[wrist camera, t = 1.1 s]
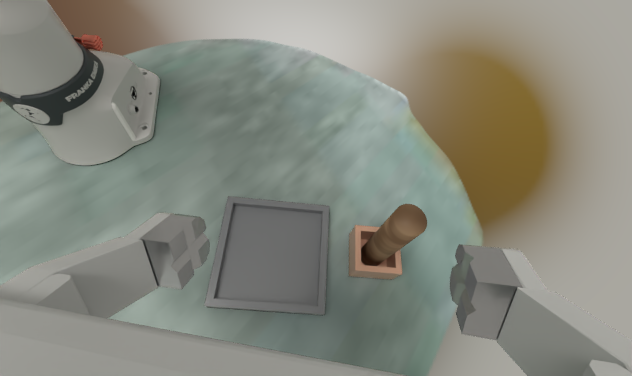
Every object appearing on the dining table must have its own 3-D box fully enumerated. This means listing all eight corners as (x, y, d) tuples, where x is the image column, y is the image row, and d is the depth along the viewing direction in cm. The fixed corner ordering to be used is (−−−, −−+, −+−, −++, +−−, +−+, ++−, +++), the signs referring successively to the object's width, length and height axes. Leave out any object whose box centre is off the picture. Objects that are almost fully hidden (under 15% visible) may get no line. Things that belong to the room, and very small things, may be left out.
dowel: (359, 243, 46) (393, 202, 32) (381, 245, 46) (425, 205, 32) (359, 266, 44) (395, 234, 30) (382, 268, 45) (428, 237, 31)
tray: (230, 201, 48) (228, 196, 46) (327, 211, 49) (329, 205, 47) (208, 307, 40) (204, 305, 38) (322, 315, 41) (324, 314, 39)
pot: (349, 234, 47) (355, 225, 43) (389, 237, 48) (398, 229, 44) (348, 276, 44) (355, 270, 40) (391, 279, 45) (402, 274, 41)
